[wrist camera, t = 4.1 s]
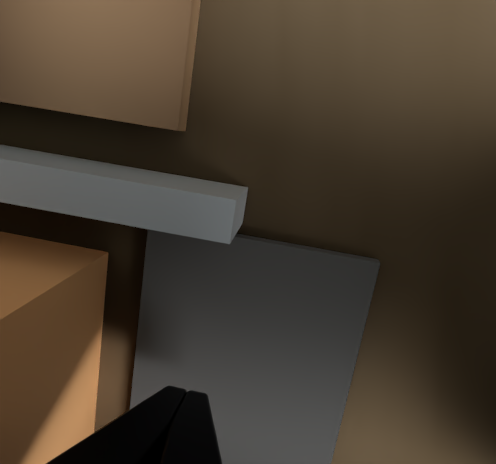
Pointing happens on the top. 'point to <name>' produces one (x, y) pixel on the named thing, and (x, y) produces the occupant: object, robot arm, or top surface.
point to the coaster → (101, 58)
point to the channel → (121, 194)
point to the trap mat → (254, 339)
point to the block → (48, 346)
